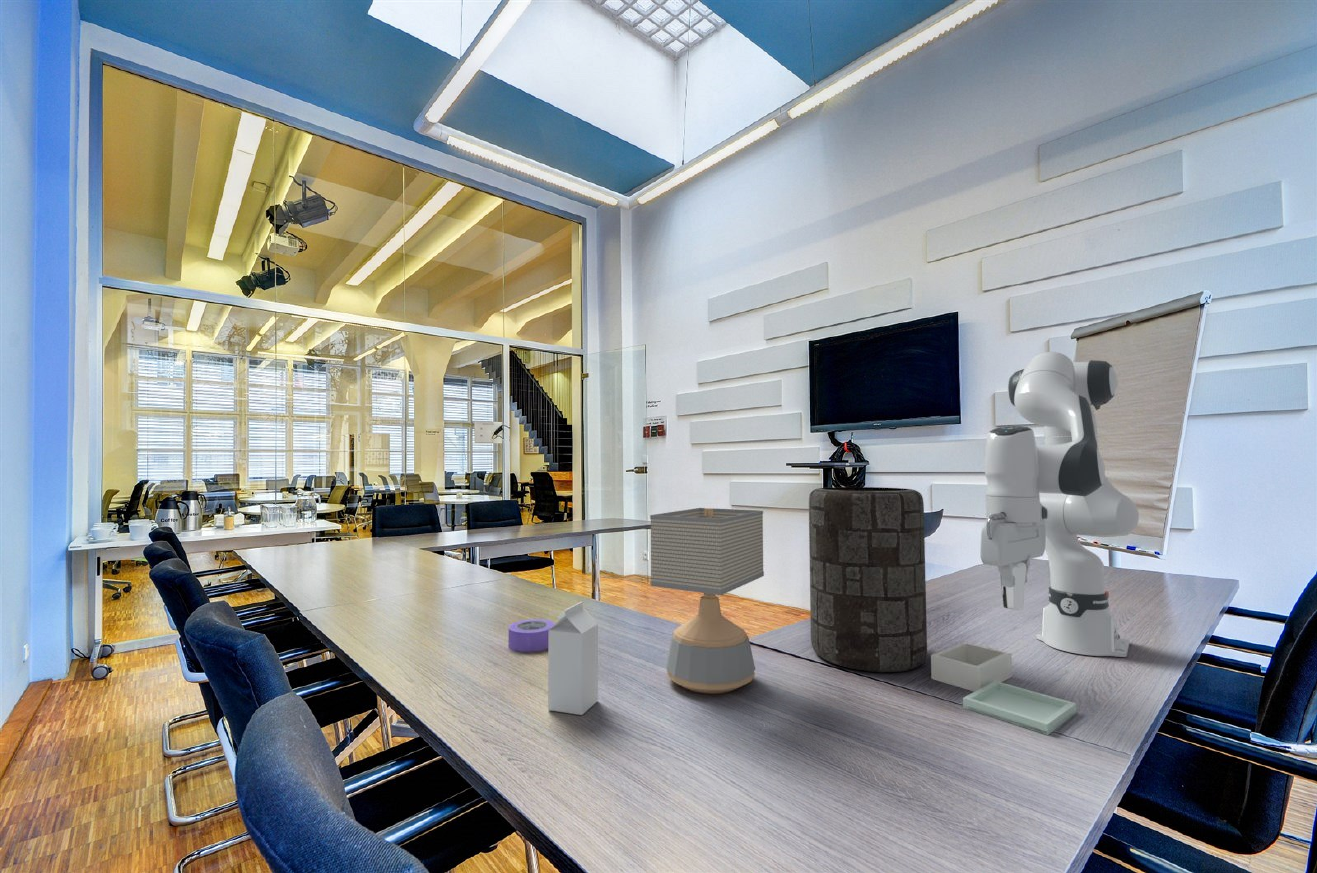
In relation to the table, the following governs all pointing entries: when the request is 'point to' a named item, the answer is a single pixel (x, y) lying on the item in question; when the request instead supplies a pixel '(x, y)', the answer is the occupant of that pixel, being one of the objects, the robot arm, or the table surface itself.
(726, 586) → the desk lamp
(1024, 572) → the milkshake
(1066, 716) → the tray
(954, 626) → the table surface
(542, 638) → the tape roll
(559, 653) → the milk carton
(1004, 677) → the frame
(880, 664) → the planter
